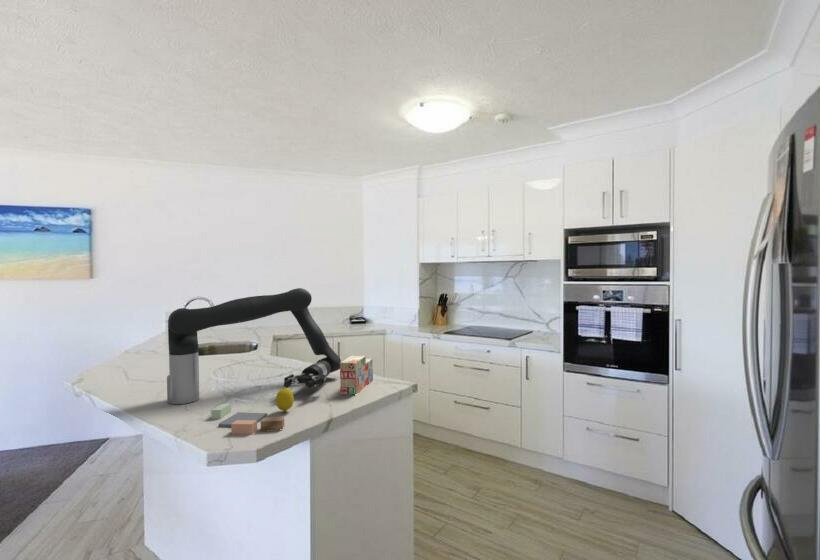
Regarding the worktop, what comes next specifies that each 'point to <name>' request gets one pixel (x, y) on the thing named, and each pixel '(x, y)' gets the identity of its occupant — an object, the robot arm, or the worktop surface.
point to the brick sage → (221, 411)
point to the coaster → (242, 418)
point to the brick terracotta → (244, 427)
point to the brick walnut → (272, 423)
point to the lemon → (284, 399)
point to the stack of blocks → (355, 374)
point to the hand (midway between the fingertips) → (297, 385)
